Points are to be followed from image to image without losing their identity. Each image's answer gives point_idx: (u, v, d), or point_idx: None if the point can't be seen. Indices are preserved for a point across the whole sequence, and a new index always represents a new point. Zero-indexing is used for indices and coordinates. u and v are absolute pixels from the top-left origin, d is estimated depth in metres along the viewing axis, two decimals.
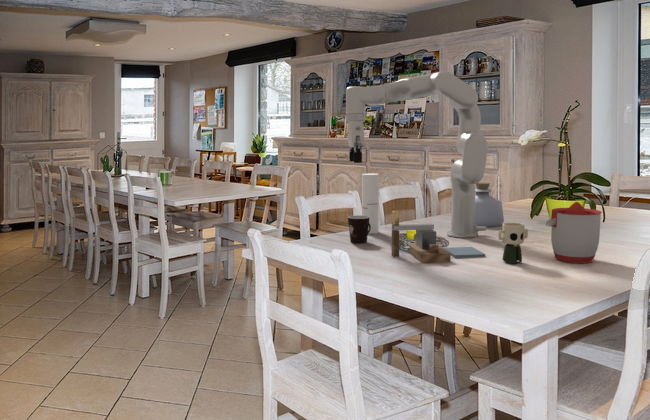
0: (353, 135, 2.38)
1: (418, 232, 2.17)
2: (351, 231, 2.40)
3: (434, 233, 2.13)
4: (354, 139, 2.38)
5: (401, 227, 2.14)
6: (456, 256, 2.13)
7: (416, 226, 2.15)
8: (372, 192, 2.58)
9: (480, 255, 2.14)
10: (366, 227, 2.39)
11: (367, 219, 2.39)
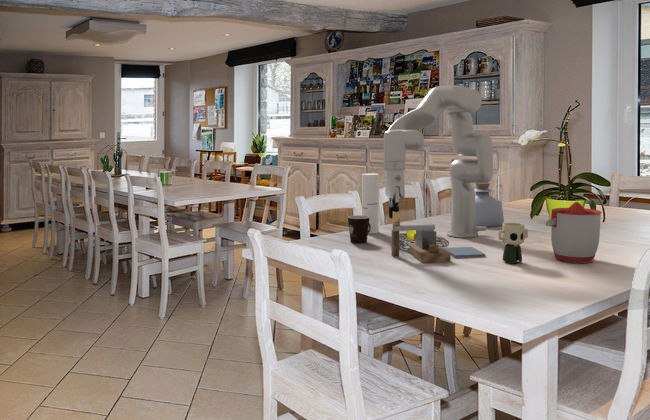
0: (392, 186, 2.10)
1: (418, 232, 2.17)
2: (351, 231, 2.40)
3: (434, 233, 2.13)
4: (393, 190, 2.10)
5: (402, 228, 2.13)
6: (456, 256, 2.13)
7: (417, 227, 2.14)
8: (372, 192, 2.58)
9: (480, 255, 2.14)
10: (366, 227, 2.39)
11: (367, 219, 2.39)
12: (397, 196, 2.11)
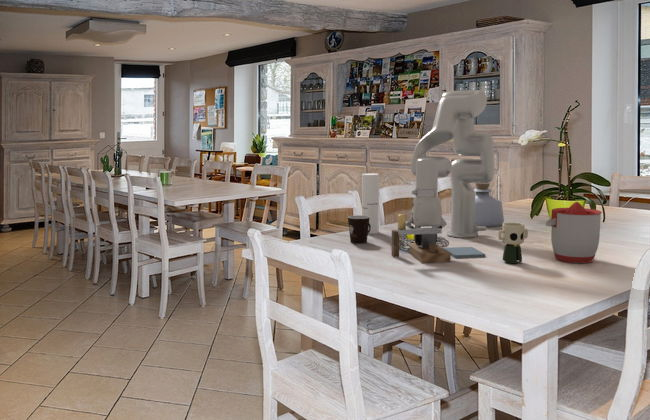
0: None
1: None
2: (351, 231, 2.40)
3: None
4: (411, 216, 2.17)
5: (407, 231, 2.06)
6: (456, 256, 2.13)
7: (423, 230, 2.06)
8: (372, 192, 2.58)
9: (480, 255, 2.14)
10: (366, 227, 2.39)
11: (367, 219, 2.39)
12: (409, 220, 2.15)
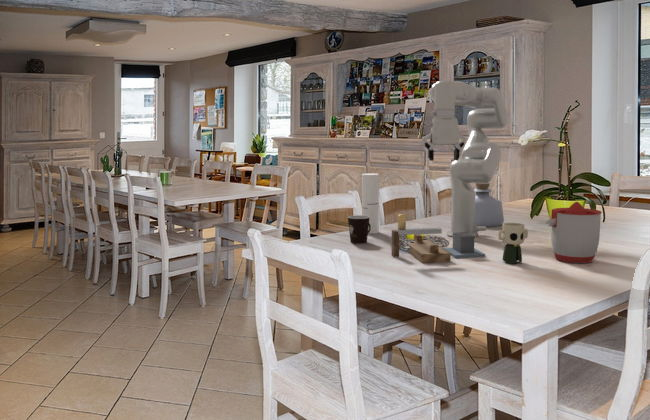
0: (430, 132, 2.32)
1: (456, 236, 2.19)
2: (351, 231, 2.40)
3: (472, 237, 2.15)
4: None
5: (407, 231, 2.06)
6: (456, 256, 2.13)
7: (423, 230, 2.06)
8: (372, 192, 2.58)
9: (480, 255, 2.14)
10: (366, 227, 2.39)
11: (367, 219, 2.39)
12: None
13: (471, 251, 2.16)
